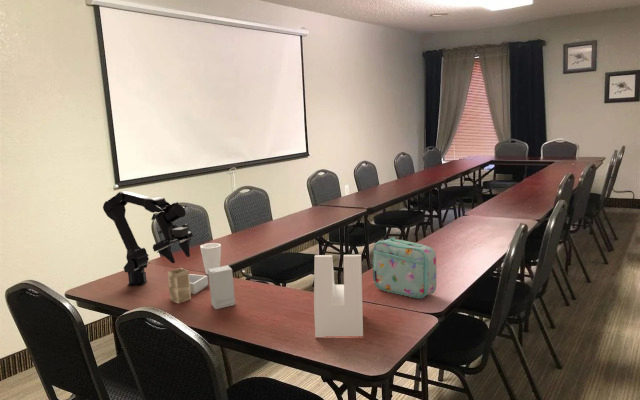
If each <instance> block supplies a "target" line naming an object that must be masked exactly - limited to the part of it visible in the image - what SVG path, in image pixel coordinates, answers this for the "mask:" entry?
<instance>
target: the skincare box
mask: <svg viewBox="0 0 640 400" xmlns="http://www.w3.org/2000/svg"><path fill="white" fill-rule="evenodd" d="M207 276H208V285H209V292H210V301H211V303H210V304H211V305H212V307H213V308H214V310H219V309H223V308H226V307H227V308H228V307H232V306H235V305H236V297H235V287H234V276H233V269H232V268H231V267H230V266H229V265H228V264H227V265H222V266H220V267H217V268H212V269H208V275H207Z"/></svg>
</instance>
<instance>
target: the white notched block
mask: <svg viewBox="0 0 640 400" xmlns="http://www.w3.org/2000/svg"><path fill="white" fill-rule="evenodd" d="M313 265H314V271H313V272H314V274H313V276H314V278H313V280H314V284H313V285H314V286H313V309H314V310H313V311H314V331H315V332H314V335H315V337H325V336H363V337H364V321H363V319H364V316H363V313H364V312H363V279H362V278H363V277H362V274H363V273H362V254H343V284H336V283H335V273H334V272H335V271H334V261H333V254H322V255H321V254H320V255H319V254H317V255H316V254H315V255H314V264H313Z"/></svg>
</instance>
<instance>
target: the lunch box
mask: <svg viewBox="0 0 640 400" xmlns="http://www.w3.org/2000/svg"><path fill="white" fill-rule="evenodd" d="M372 253H373V254H372V255H373V257H372V261H371V266H372V279H373V283H374V285H375V287H376V288H377V289H379V290H381V291H383V292H386V291H387V293H390V292H391V293H390V294H394V293H395V295H398V294H399V295H400V296H403V295H404V297H407V296H409V297H408V298H412V297H413V299H423V298H425V297H426V296H428V295H432V294H434V293H435V292H436V289H437V253H436V251H435V249H434V248H433V247H430V246H428V245H424V244H422V243H418V242H412V241H408V240H404V239H396V237H395V236H392V237H389V239H388V238H387V239H384V240H378V241H377V242H375V244H374V246H373V249H372ZM399 295H398V296H399Z"/></svg>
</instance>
